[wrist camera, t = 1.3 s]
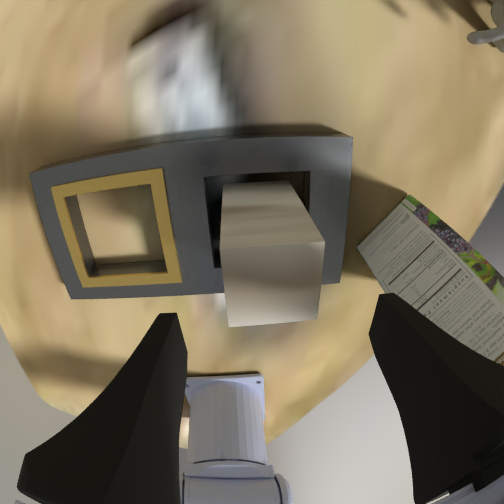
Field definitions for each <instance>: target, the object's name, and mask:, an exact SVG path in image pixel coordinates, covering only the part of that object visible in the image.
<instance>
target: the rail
mask: <svg viewBox="0 0 504 504" xmlns="http://www.w3.org/2000/svg"><path fill="white" fill-rule="evenodd" d="M352 149H353V137H351V136H349V135H346V134H344V133H269V134H247V135H231V136H218V137H207V138H197V139H188V140H179V141H171V142H163V143H156V144H149V145H143V146H136V147H130V148H124V149H119V150H113V151H108V152H103V153H98V154H93V155H88V156H84V157H79V158H75V159H71V160H66V161H62V162H58V163H54V164H50V165H46V166H43V167H40V168H38V169H36V170H35V171H33V172H31V173H29V174H30V179H31V183H32V187H33V191H34V195H35V199H36V202H37V206H38V209H39V213H40V216H41V220H42V223H43V226H44V229H45V232H46V235H47V238H48V241H49V244H50V247H51V250H52V253H53V256H54V258H55V261H56V264H57V266H58V269H59V271H60V274H61V276H62V279H63V281H64V284H65V286H66V289H67V291H68V293H69V296H70V298H71V299H107V298H136V297H159V296H179V295H197V294H213V293H225V291H224V283H223V274H222V266H221V257H220V256H215V254H214V245H213V237H212V228H211V220H210V211H209V201H208V192H207V182H206V177H210V176H222V175H235V174H250V173H268V172H292V171H304V207H305V208H306V210H307V212H308V213H309V215H310V217H311V218H312V220H313V222H314V224H315V225H316V227H317V229H318V230H319V232H320V234H321V236H322V237H323V239H324V241H325V248H324V259H323V270H322V280H321V285H323V284H333V283H340V278H341V270H342V263H343V255H344V247H345V238H346V229H347V219H348V208H349V197H350V184H351V168H352ZM144 184H151V189H152V195H153V201H154V207H155V212H156V218H157V223H158V228H159V233H160V238H161V243H162V248H163V253H164V257H165V260H158V261H144V262H130V263H116V264H102V265H96V263H95V260H94V256H93V253H92V250H91V247H90V244H89V240H88V237H87V234H86V230H85V227H84V223H83V219H82V216H81V212H80V208H79V204H78V200H77V196H76V195H79V194H84V193H90V192H96V191H102V190H109V189H116V188H122V187H129V186H137V185H144Z"/></svg>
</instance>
